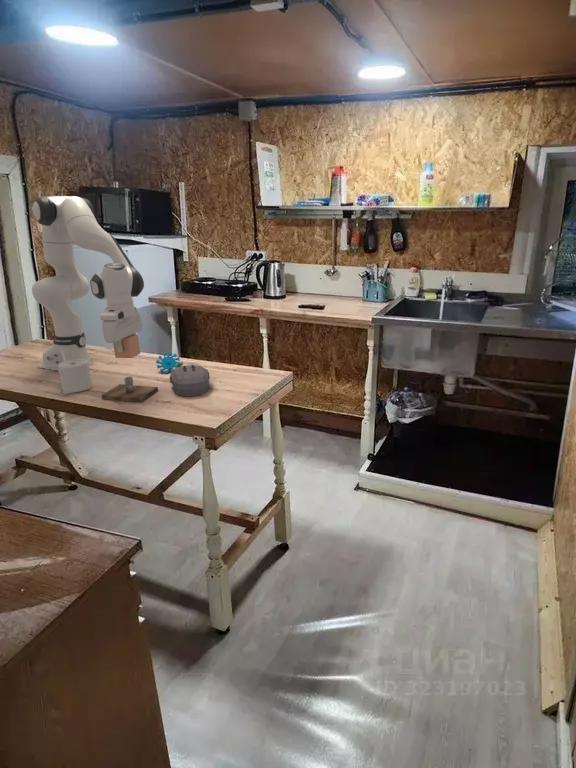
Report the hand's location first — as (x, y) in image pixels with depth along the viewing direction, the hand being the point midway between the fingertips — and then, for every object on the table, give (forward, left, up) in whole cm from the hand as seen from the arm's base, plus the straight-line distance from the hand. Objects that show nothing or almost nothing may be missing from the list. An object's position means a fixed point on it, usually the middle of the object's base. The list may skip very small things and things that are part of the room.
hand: (126, 348), depth 178 cm
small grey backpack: (+20, +9, -18) cm, 28 cm away
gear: (+2, +27, -17) cm, 32 cm away
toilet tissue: (-24, 0, -17) cm, 29 cm away
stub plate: (0, -2, -17) cm, 17 cm away
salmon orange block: (0, 0, -3) cm, 3 cm away
